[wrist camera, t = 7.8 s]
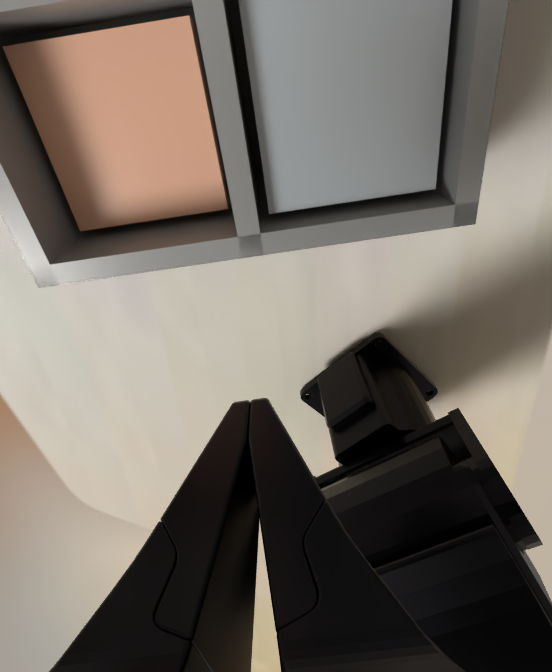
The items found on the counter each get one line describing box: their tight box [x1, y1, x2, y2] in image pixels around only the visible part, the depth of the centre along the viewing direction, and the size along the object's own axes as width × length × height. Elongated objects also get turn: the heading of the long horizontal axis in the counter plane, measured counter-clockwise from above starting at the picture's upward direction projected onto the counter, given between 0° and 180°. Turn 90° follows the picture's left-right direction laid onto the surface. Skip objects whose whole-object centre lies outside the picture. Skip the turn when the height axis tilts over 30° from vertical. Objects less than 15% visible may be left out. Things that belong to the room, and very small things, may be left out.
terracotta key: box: [3, 15, 230, 231], centre depth 14 cm, size 6×6×2 cm
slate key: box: [239, 0, 453, 214], centre depth 13 cm, size 6×6×2 cm
